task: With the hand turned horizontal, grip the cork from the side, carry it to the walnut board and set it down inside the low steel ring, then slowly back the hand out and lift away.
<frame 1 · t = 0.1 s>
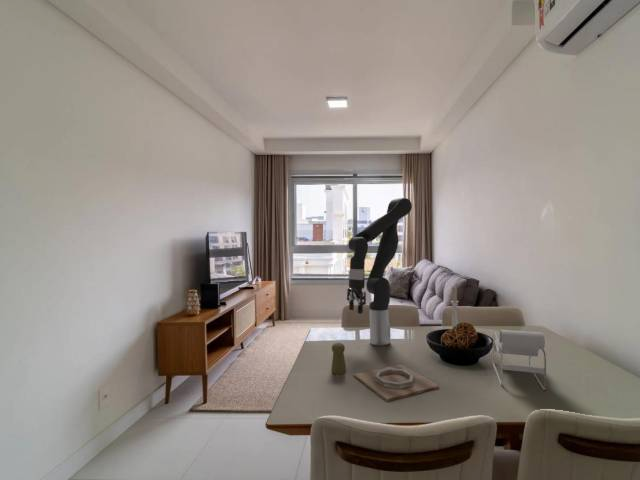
hand: (355, 311, 163), 17 cm above the table, tool pointing down, fingers open, 8 cm apart
chair: (516, 376, 127), on the table
collar holder: (394, 381, 124), on the table
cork: (338, 371, 135), on the table
candlestick: (455, 350, 156), on the table
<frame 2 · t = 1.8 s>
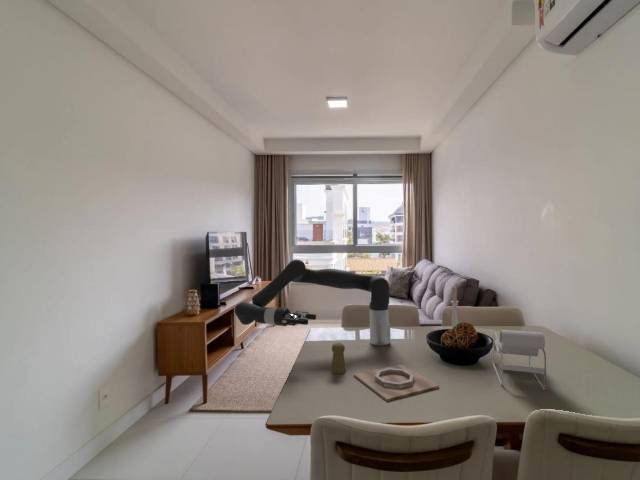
hand: (312, 319, 139), 20 cm above the table, tool horizontal, fingers open, 8 cm apart
nothing on the table moved.
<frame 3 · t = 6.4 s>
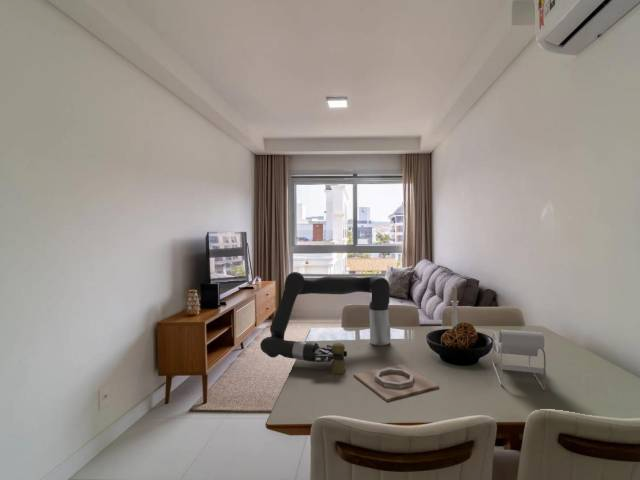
hand: (344, 355, 134), 7 cm above the table, tool horizontal, fingers closed on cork, 4 cm apart
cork: (338, 371, 135), on the table, touching gripper
everything else where it was.
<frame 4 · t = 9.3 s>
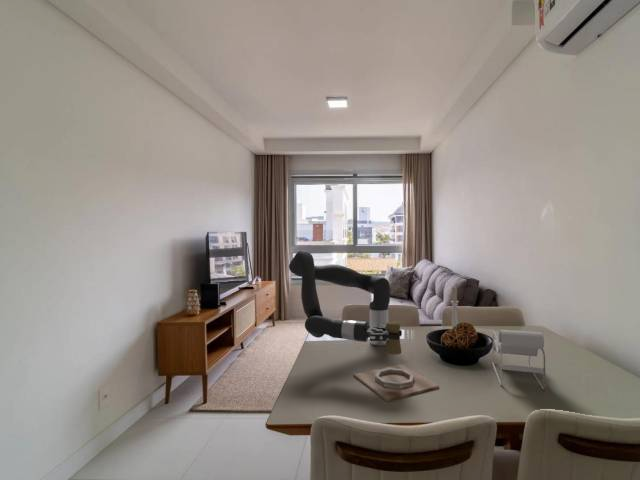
hand: (400, 334, 123), 18 cm above the table, tool horizontal, fingers closed on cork, 4 cm apart
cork: (393, 352, 124), point 11 cm above the table, touching gripper
everything else where it was.
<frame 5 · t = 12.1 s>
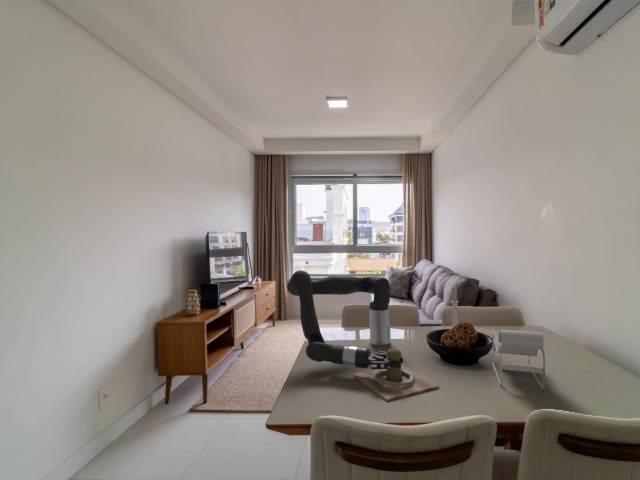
hand: (401, 362, 123), 7 cm above the table, tool horizontal, fingers closed on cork, 4 cm apart
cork: (394, 379, 124), point 1 cm above the table, touching gripper
everything else where it was.
when the fingers open (7 cm above the table, at t = 12.1 s): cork moves 2 cm, resting on collar holder.
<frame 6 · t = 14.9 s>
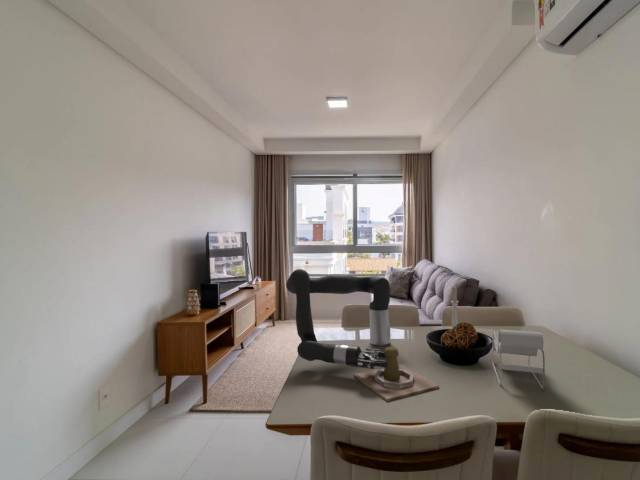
hand: (389, 360, 125), 8 cm above the table, tool horizontal, fingers open, 8 cm apart
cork: (391, 377, 127), point 1 cm above the table, touching collar holder
everything else where it was.
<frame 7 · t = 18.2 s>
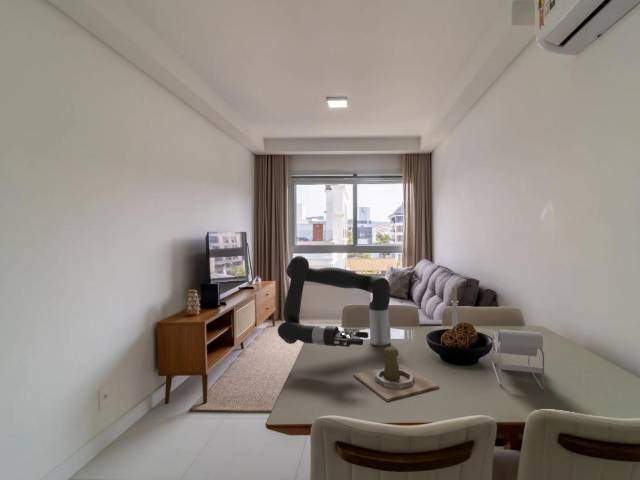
hand: (365, 338, 128), 15 cm above the table, tool horizontal, fingers open, 8 cm apart
nothing on the table moved.
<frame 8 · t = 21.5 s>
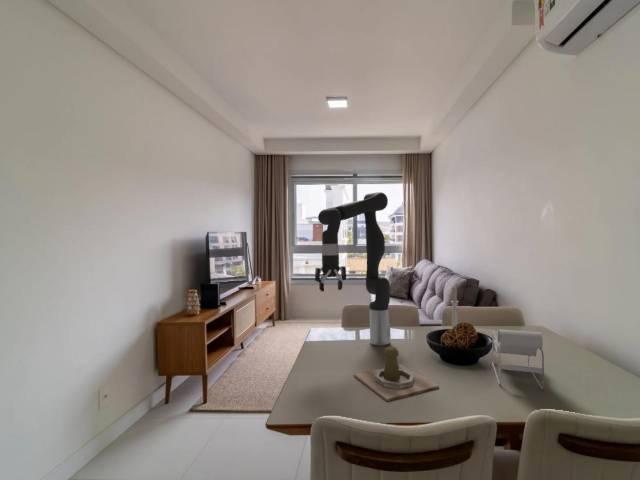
hand: (331, 290, 149), 30 cm above the table, tool pointing down, fingers open, 8 cm apart
nothing on the table moved.
at the end: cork 2.5 cm off-centre on the collar holder, point 0.6 cm above the collar holder's base; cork tilted 0°; the gripper is holding nothing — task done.
